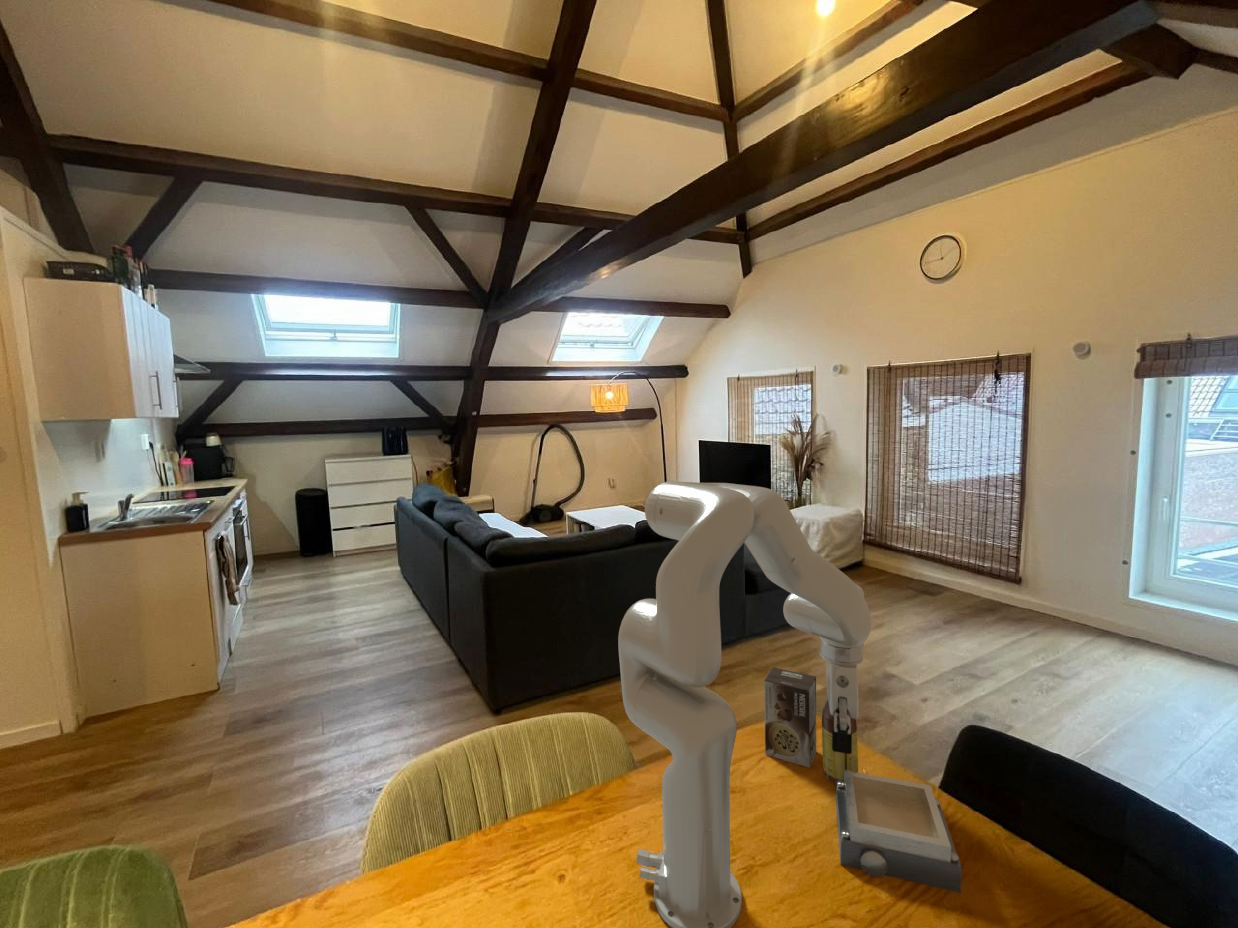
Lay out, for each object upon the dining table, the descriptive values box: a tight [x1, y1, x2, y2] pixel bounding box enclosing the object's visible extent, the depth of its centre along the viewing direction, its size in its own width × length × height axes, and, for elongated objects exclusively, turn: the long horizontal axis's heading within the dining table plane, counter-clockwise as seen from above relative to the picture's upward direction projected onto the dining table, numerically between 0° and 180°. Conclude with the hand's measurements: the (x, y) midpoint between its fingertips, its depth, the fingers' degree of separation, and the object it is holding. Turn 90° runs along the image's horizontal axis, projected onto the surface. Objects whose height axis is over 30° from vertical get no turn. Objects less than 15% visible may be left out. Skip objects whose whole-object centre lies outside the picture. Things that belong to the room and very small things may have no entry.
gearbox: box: [835, 770, 962, 894], centre depth 86 cm, size 16×15×6 cm
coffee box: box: [763, 667, 817, 769], centre depth 109 cm, size 9×6×16 cm
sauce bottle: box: [821, 698, 859, 785], centre depth 101 cm, size 6×6×20 cm
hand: (840, 735), depth 101 cm, fingers open, 9 cm apart
